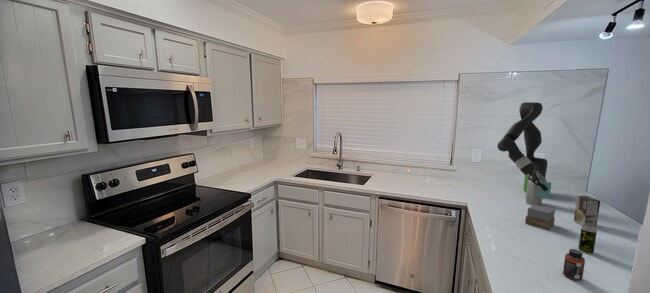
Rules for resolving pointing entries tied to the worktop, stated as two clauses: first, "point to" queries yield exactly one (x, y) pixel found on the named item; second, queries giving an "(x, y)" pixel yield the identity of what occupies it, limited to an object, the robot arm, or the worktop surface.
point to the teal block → (544, 193)
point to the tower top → (541, 213)
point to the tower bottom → (539, 222)
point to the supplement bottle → (574, 264)
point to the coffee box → (586, 211)
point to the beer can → (587, 239)
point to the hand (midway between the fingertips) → (547, 189)
